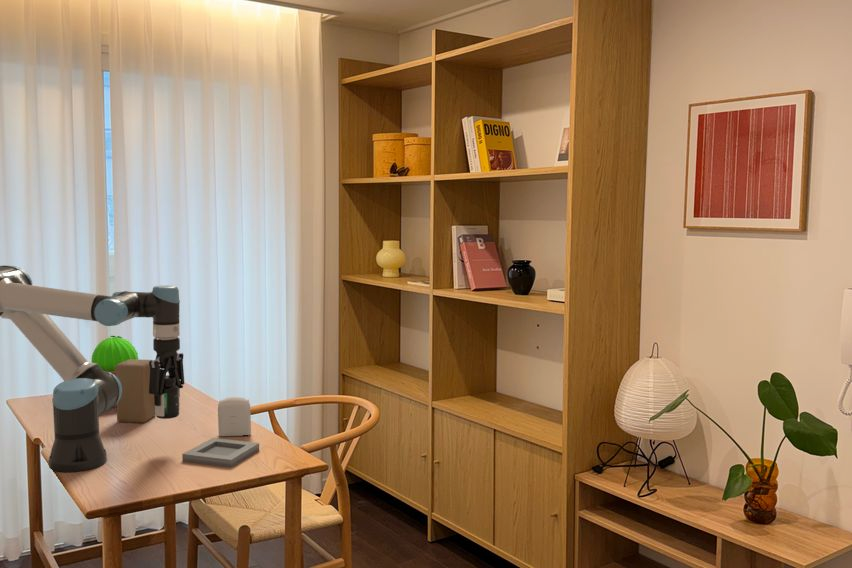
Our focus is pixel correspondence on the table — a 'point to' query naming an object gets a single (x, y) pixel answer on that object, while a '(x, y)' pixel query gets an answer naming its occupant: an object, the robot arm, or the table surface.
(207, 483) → the table surface
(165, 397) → the supplement bottle
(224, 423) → the photo printer
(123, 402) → the wooden block
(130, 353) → the potted cactus
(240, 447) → the base plate
